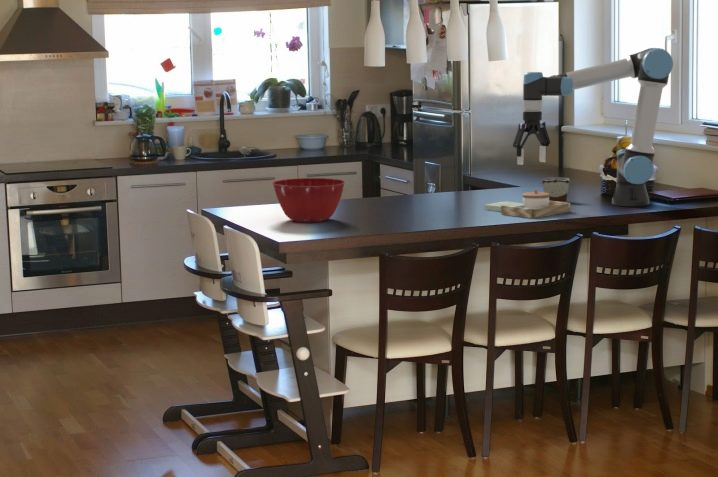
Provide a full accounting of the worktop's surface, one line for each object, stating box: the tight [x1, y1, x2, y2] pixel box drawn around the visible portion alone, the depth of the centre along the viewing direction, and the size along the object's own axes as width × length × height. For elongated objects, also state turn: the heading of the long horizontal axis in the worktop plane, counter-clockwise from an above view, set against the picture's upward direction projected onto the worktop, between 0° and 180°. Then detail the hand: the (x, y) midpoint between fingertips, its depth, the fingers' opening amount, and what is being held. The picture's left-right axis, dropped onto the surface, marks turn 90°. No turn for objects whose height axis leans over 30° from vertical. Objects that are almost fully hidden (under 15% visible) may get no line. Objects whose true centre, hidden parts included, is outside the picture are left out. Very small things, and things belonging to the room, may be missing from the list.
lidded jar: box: [521, 189, 549, 209], centre depth 464 cm, size 11×11×9 cm
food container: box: [540, 176, 571, 203], centre depth 495 cm, size 12×6×10 cm, turn 84°
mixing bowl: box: [272, 177, 346, 224], centre depth 454 cm, size 28×28×16 cm
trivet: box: [483, 200, 524, 213], centre depth 475 cm, size 13×13×2 cm
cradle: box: [500, 201, 571, 219], centre depth 464 cm, size 16×23×4 cm
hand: (531, 163), depth 470 cm, fingers open, 13 cm apart
